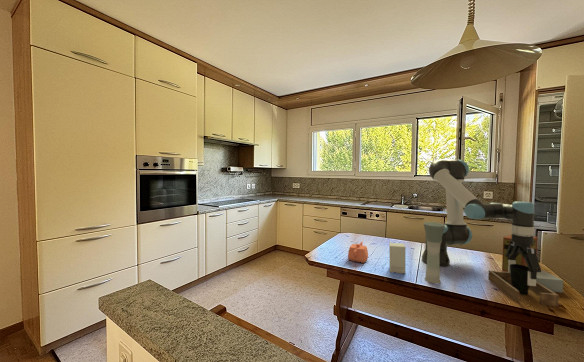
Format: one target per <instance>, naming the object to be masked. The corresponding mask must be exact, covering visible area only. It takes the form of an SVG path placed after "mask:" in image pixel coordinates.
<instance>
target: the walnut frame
mask: <svg viewBox="0 0 584 362" xmlns="http://www.w3.org/2000/svg"><path fill="white" fill-rule="evenodd" d="M487 278H488V279H487V280H488V281H490V282H491V283H492V284H493V285H495V287H496V288H498V289H499V290H501V291H502V292H503V293H504V294H505V295H507V296H508V297H509V298H510V299H512V300H513V301H514V302H515V301H516V302H515V303H520V294H519V292H520V291H518V290H517V289H516V288H514V287H513V286H512V285H511V274H510V273H508V272H503V271H502V270H488V277H487ZM529 290H531V291H532V292H534V293H535V294H536V295H537V296H539V303H538V304H539V305H541V306H548V307H549V306H550V307H555V308H556V307H558V308H559V302H560V294H558V293H557V292H553V291H551V290H550V289H548V288H546V287H545V286H543V285H541V284H540V283H538V282H536V286H529Z"/></svg>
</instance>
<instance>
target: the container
mask: <svg viewBox="0 0 584 362" xmlns="http://www.w3.org/2000/svg"><path fill="white" fill-rule="evenodd" d="M423 226H424V227H423V228H424V233H425V240H426V241H427V251H428V253H427V263H426V269H425V278H424V280H425V281H426V282H427V281H428V282H427V283H430V282H431V283H430V284H433V283H439V284H441V283H442V282H441V276H440V275H441V274H440V273H441V272H440V269H441V268H440V266H439V253H440V245H441V242H442V235H443V232H444V228H445V223H440V222H435V221H426V222H425V221H424V222H423Z"/></svg>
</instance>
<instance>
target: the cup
mask: <svg viewBox="0 0 584 362" xmlns="http://www.w3.org/2000/svg"><path fill="white" fill-rule="evenodd" d="M528 270H529V268H528V267H527V266H524V265H519V264H510V274H511V282H510V285H512V286H513V287H514V288H516V289H517V290H518V291H520V292H519V295H524V296H525V295H526V296H527V295H528V294H529V290H530V289H529V285H527V284H528Z"/></svg>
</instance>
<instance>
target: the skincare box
mask: <svg viewBox="0 0 584 362" xmlns="http://www.w3.org/2000/svg"><path fill="white" fill-rule="evenodd" d="M388 249H389V252H388V253H389V273H393V272H396V273H395V274H402V273H404V275H405V274H406V244H405V243H400V242H397V243H396V242H389V248H388Z"/></svg>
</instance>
